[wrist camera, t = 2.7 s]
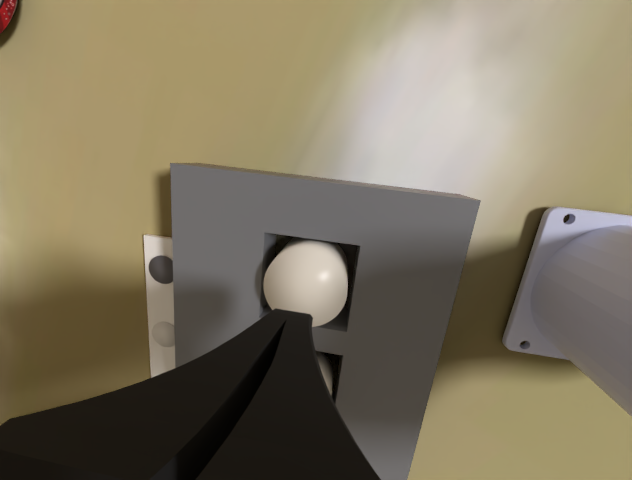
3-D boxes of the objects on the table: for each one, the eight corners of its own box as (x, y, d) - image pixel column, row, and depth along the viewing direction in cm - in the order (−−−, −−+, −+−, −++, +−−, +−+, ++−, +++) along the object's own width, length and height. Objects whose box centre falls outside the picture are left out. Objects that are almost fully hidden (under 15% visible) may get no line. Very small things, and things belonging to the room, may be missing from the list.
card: (184, 239, 17) (180, 241, 17) (187, 413, 21) (184, 418, 20) (146, 234, 17) (142, 235, 17) (155, 407, 21) (151, 411, 21)
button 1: (353, 238, 16) (353, 255, 13) (343, 304, 17) (341, 333, 14) (280, 228, 16) (266, 242, 13) (275, 294, 17) (261, 319, 14)
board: (459, 194, 15) (480, 200, 12) (384, 503, 21) (389, 547, 18) (197, 163, 16) (170, 163, 14) (197, 463, 22) (178, 500, 19)
